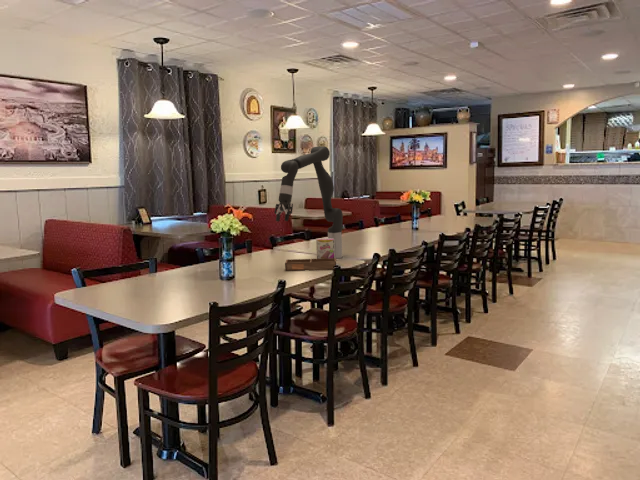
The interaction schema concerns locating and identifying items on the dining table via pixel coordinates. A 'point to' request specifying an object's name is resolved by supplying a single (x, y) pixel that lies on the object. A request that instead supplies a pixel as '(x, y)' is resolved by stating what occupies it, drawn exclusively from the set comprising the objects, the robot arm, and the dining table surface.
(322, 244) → the candy bar box
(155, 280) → the dining table surface
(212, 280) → the dining table surface
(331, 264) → the organiser rack
